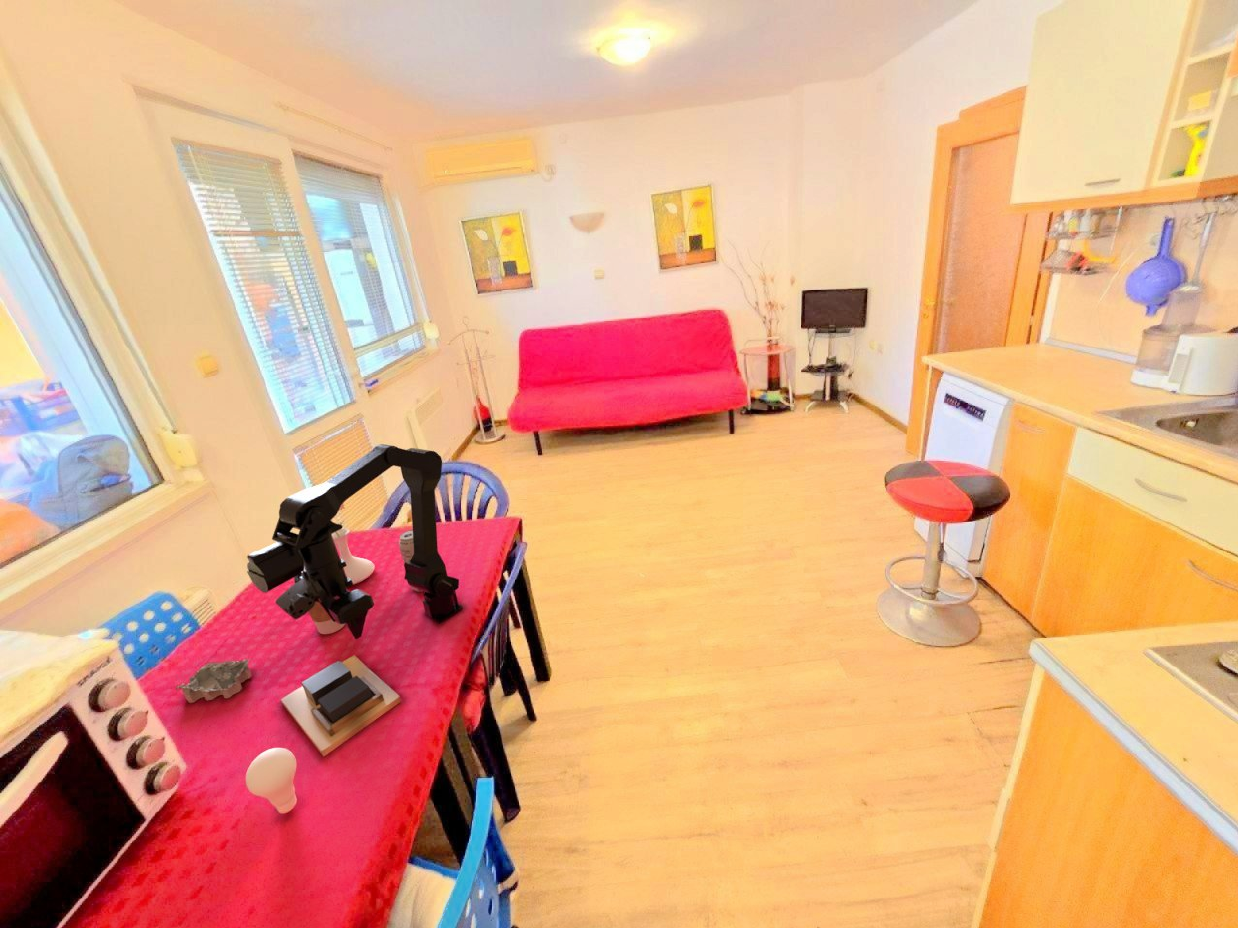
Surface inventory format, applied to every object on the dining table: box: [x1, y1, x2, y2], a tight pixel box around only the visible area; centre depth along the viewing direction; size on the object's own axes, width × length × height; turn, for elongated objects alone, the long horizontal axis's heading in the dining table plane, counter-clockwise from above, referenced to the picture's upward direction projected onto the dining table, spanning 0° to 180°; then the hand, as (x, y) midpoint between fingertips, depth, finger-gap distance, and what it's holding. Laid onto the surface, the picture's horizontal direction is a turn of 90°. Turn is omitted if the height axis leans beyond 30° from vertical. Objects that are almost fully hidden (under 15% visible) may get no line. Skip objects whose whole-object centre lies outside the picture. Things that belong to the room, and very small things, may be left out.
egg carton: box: [175, 658, 252, 704], centre depth 101 cm, size 11×8×4 cm
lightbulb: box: [245, 747, 298, 814], centre depth 74 cm, size 6×6×11 cm
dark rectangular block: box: [318, 676, 372, 724], centre depth 91 cm, size 7×5×4 cm
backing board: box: [279, 654, 402, 757], centre depth 94 cm, size 14×19×4 cm
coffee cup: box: [293, 574, 346, 635], centre depth 114 cm, size 8×8×15 cm
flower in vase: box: [332, 502, 376, 586], centre depth 131 cm, size 13×11×25 cm
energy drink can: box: [398, 529, 422, 593], centre depth 126 cm, size 6×6×15 cm
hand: (347, 628), depth 97 cm, fingers open, 9 cm apart
